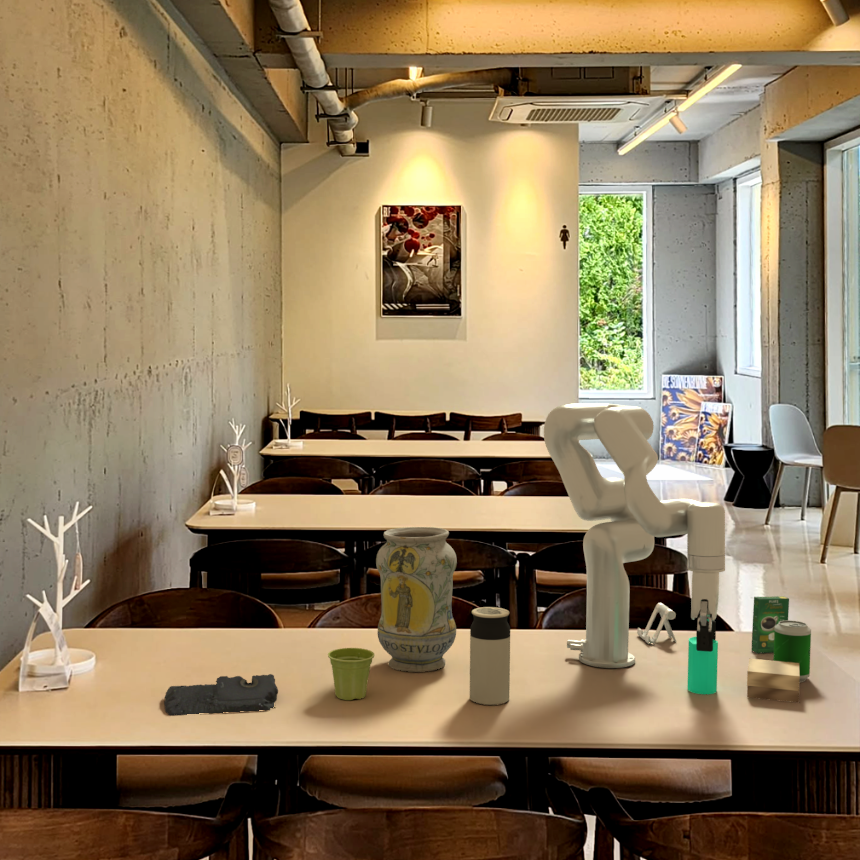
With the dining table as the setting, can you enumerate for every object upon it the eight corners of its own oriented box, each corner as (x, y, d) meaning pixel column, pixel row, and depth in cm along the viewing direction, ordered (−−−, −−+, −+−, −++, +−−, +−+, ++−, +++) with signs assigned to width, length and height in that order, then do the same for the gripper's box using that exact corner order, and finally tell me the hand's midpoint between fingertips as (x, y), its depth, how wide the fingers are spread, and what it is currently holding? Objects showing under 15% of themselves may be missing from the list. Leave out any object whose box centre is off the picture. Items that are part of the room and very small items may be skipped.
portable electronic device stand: (637, 636, 270) (637, 603, 270) (667, 635, 271) (668, 602, 271) (647, 645, 262) (648, 611, 261) (679, 645, 263) (680, 610, 262)
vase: (361, 670, 239) (362, 534, 237) (394, 650, 255) (395, 522, 253) (438, 680, 232) (439, 540, 230) (467, 658, 248) (468, 528, 247)
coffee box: (781, 649, 259) (783, 594, 258) (788, 652, 256) (789, 597, 255) (750, 651, 257) (752, 596, 257) (756, 654, 255) (758, 598, 254)
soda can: (812, 684, 231) (813, 628, 230) (774, 682, 233) (776, 626, 232) (807, 674, 238) (808, 620, 238) (771, 672, 240) (772, 618, 239)
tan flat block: (747, 700, 222) (747, 685, 222) (748, 686, 231) (748, 672, 231) (798, 705, 219) (799, 690, 219) (798, 691, 228) (798, 677, 228)
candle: (683, 686, 229) (684, 629, 229) (711, 685, 230) (712, 629, 229) (692, 694, 223) (693, 636, 223) (721, 694, 224) (722, 636, 223)
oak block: (747, 685, 222) (747, 671, 221) (748, 672, 231) (749, 658, 231) (798, 690, 219) (799, 676, 218) (798, 677, 228) (799, 663, 228)
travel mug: (482, 708, 213) (483, 617, 212) (462, 696, 221) (463, 608, 219) (516, 702, 217) (518, 613, 216) (496, 691, 224) (497, 605, 223)
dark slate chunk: (165, 695, 222) (165, 672, 221) (275, 689, 226) (275, 666, 226) (162, 719, 207) (162, 694, 206) (279, 713, 211) (279, 688, 211)
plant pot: (381, 692, 223) (381, 650, 223) (363, 705, 214) (363, 662, 214) (339, 687, 226) (339, 645, 226) (320, 700, 217) (320, 657, 217)
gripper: (690, 555, 234) (690, 635, 235) (683, 568, 218) (684, 654, 218) (727, 557, 232) (727, 637, 232) (722, 570, 215) (722, 656, 216)
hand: (706, 645), depth 225 cm, fingers open, 9 cm apart
